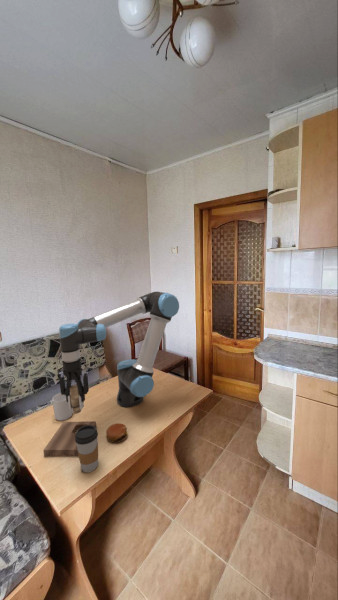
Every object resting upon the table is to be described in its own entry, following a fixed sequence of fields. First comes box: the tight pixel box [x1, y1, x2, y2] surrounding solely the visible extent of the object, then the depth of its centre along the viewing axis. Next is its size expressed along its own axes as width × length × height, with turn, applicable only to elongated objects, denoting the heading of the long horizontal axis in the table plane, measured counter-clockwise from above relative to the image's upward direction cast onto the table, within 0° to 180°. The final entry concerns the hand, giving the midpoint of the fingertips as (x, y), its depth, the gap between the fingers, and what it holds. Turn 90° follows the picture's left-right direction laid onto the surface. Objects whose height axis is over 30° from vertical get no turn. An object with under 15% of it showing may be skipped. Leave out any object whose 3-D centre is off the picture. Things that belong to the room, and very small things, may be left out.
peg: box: [70, 384, 82, 414], centre depth 112 cm, size 4×4×12 cm
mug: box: [52, 392, 74, 422], centre depth 129 cm, size 12×9×11 cm
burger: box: [105, 422, 128, 443], centre depth 111 cm, size 10×9×5 cm
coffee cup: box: [75, 425, 99, 473], centre depth 95 cm, size 8×8×15 cm
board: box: [43, 420, 97, 458], centre depth 110 cm, size 16×18×3 cm
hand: (76, 407), depth 112 cm, fingers closed on peg, 4 cm apart
